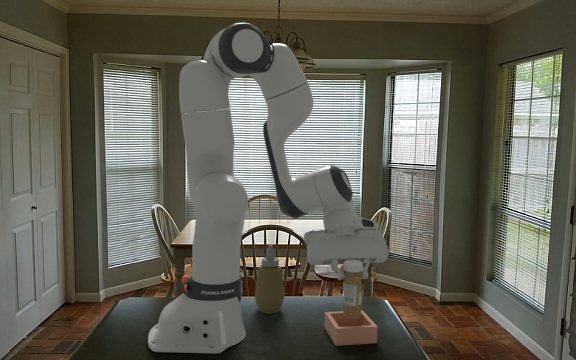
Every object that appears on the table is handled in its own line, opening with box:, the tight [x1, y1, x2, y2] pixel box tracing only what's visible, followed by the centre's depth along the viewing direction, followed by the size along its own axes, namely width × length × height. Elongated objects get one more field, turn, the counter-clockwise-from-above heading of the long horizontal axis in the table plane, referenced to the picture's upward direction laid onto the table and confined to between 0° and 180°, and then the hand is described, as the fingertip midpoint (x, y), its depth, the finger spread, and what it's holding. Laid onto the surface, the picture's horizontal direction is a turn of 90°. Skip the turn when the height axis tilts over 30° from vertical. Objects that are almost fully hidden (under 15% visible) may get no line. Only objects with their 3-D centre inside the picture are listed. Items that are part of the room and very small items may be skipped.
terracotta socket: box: [323, 309, 378, 347], centre depth 113 cm, size 10×10×4 cm
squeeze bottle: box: [254, 244, 285, 315], centre depth 126 cm, size 8×8×18 cm
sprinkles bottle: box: [342, 260, 364, 319], centre depth 112 cm, size 5×5×14 cm
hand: (353, 278), depth 111 cm, fingers closed on sprinkles bottle, 4 cm apart
